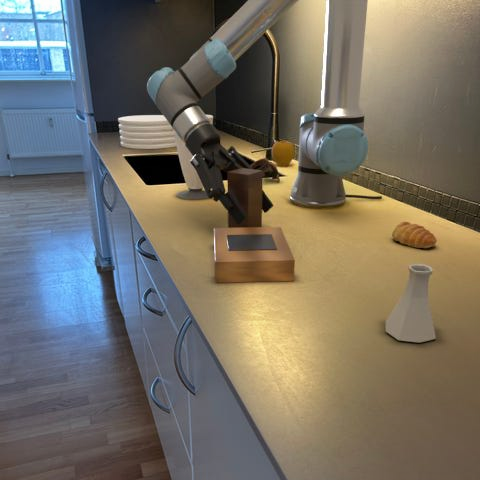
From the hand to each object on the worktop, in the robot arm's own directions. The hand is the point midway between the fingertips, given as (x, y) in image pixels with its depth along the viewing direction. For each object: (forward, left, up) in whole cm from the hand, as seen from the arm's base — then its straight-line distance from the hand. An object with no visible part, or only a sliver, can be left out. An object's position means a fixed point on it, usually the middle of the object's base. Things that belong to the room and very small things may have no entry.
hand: (256, 214), depth 112 cm
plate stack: (+37, -142, -5) cm, 147 cm away
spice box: (+2, -2, -5) cm, 6 cm away
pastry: (-34, +6, -5) cm, 35 cm away
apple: (-17, -85, -5) cm, 87 cm away
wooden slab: (+2, +16, -5) cm, 17 cm away
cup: (+14, -40, -5) cm, 43 cm away
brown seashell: (-8, -58, -5) cm, 59 cm away
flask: (-19, +46, -5) cm, 50 cm away
